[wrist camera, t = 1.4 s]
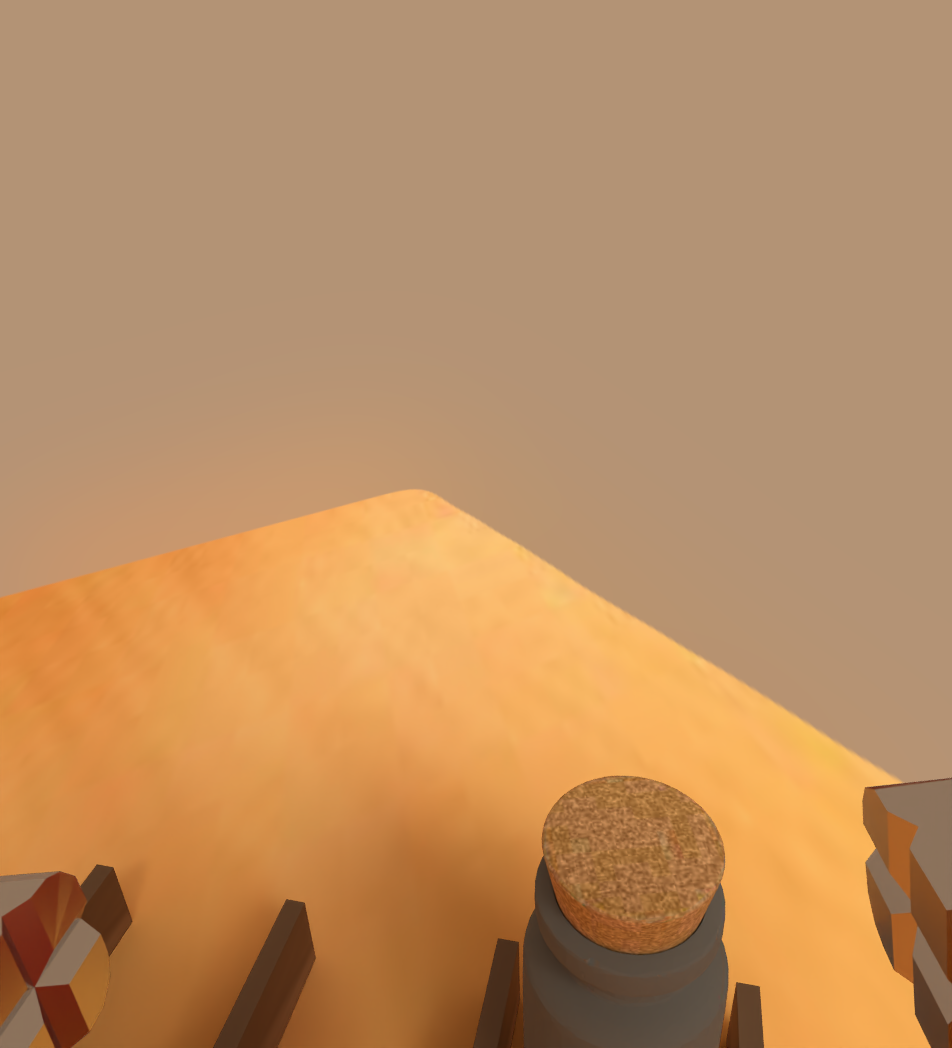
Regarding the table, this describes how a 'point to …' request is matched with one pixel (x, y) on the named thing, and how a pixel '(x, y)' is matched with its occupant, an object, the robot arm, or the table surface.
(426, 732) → the table surface
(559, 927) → the bottle
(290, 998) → the notched rack
